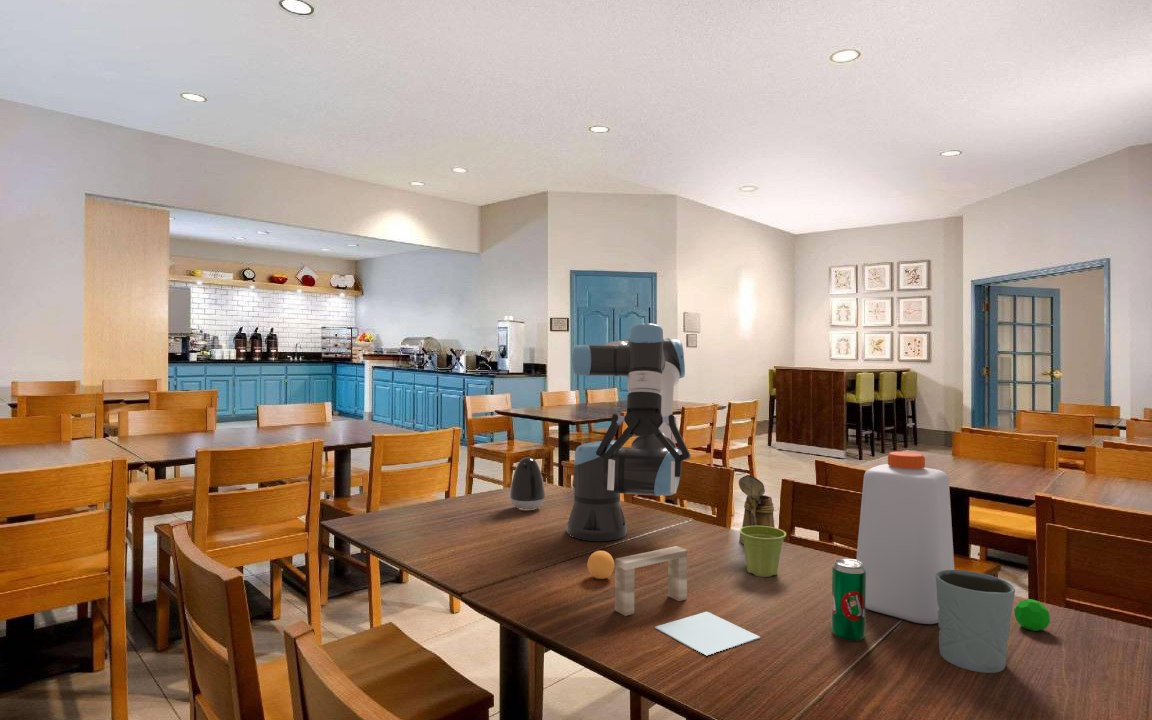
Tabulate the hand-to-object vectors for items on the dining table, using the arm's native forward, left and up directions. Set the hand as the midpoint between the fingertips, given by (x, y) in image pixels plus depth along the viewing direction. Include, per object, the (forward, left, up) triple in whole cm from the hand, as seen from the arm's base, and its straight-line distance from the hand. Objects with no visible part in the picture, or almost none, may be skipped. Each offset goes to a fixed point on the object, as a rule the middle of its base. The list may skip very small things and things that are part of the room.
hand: (641, 491), depth 136 cm
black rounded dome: (-58, +4, -17) cm, 60 cm away
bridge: (+16, -11, -16) cm, 25 cm away
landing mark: (+30, -11, -16) cm, 36 cm away
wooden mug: (+1, +34, -17) cm, 38 cm away
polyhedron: (+58, +37, -17) cm, 71 cm away
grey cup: (+58, +17, -17) cm, 63 cm away
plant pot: (+15, +20, -17) cm, 30 cm away
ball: (0, -11, -14) cm, 17 cm away
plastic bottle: (+41, +28, -17) cm, 53 cm away
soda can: (+43, +8, -17) cm, 47 cm away
